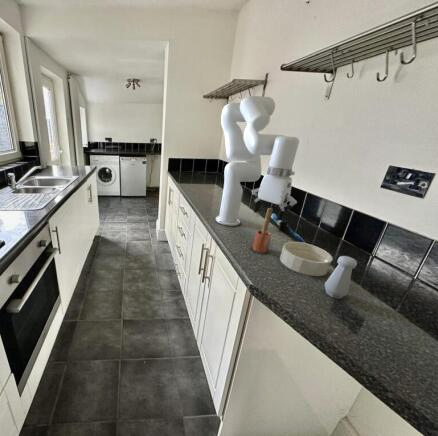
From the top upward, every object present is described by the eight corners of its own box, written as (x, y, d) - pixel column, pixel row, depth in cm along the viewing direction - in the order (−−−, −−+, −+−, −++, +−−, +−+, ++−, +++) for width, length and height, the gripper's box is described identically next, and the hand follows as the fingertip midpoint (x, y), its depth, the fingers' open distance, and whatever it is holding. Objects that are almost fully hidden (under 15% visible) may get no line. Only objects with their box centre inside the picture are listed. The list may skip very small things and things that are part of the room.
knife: (268, 218, 127) (270, 211, 125) (274, 219, 127) (276, 211, 125) (298, 252, 100) (302, 243, 98) (305, 252, 100) (309, 243, 98)
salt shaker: (335, 302, 69) (351, 265, 64) (317, 289, 74) (331, 254, 69) (349, 298, 70) (366, 262, 65) (331, 286, 75) (345, 252, 70)
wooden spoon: (255, 248, 97) (265, 207, 90) (257, 247, 98) (267, 207, 91) (261, 251, 94) (272, 210, 88) (264, 250, 95) (275, 209, 89)
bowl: (271, 254, 93) (275, 241, 91) (307, 254, 94) (312, 241, 92) (295, 277, 79) (300, 262, 77) (337, 277, 80) (343, 263, 78)
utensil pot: (250, 247, 99) (253, 230, 96) (262, 247, 99) (266, 230, 96) (256, 253, 94) (260, 236, 91) (269, 253, 94) (273, 236, 91)
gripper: (309, 176, 79) (295, 221, 86) (262, 167, 93) (253, 207, 99) (298, 178, 76) (284, 225, 82) (251, 168, 89) (242, 210, 96)
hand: (267, 215), depth 91 cm, fingers open, 9 cm apart
